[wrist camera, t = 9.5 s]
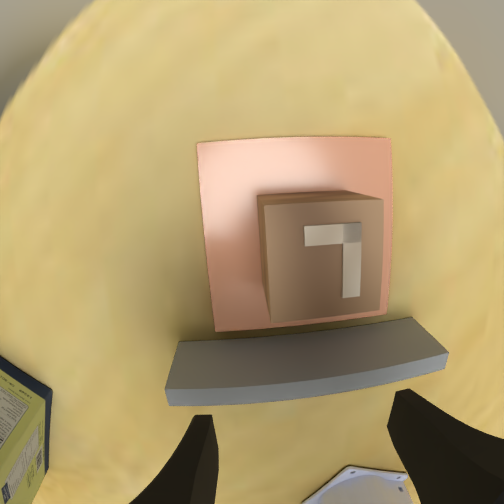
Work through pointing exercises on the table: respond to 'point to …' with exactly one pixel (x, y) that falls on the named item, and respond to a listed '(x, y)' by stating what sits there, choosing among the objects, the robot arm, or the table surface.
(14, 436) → the protein box
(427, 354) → the slate screen
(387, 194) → the terracotta tile
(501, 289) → the table surface
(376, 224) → the walnut cube
